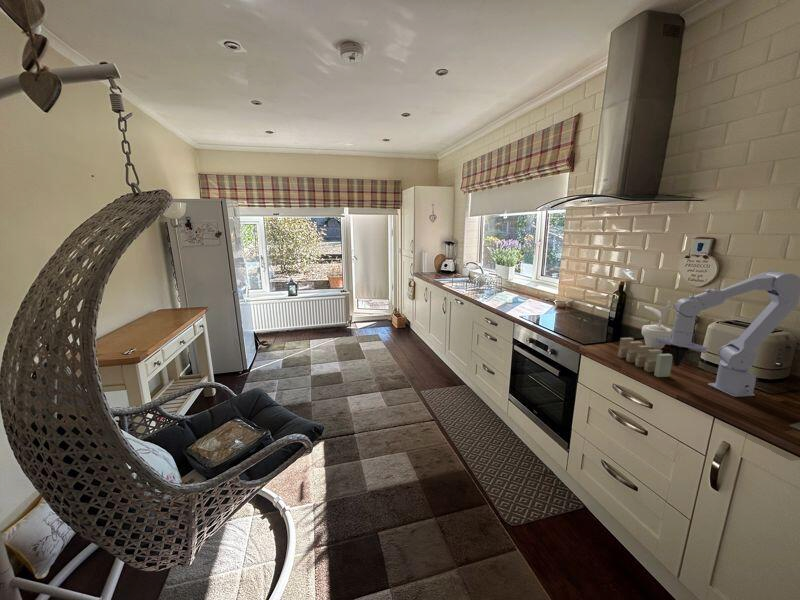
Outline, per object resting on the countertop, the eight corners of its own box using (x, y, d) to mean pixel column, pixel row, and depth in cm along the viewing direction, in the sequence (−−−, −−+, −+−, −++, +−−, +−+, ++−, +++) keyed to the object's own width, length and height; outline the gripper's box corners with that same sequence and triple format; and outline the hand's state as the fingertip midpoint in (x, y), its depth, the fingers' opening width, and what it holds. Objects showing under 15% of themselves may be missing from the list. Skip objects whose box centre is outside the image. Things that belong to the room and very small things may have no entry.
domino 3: (649, 366, 141) (652, 346, 139) (638, 367, 141) (641, 347, 139) (645, 364, 143) (648, 344, 141) (634, 365, 143) (637, 345, 141)
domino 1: (631, 357, 151) (633, 338, 149) (620, 358, 151) (623, 339, 149) (628, 355, 153) (630, 337, 151) (617, 356, 152) (620, 337, 151)
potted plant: (674, 349, 160) (683, 298, 154) (659, 353, 156) (667, 301, 150) (647, 341, 171) (654, 293, 166) (632, 344, 167) (638, 296, 162)
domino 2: (639, 361, 146) (642, 342, 144) (629, 362, 146) (631, 342, 144) (636, 360, 148) (639, 341, 146) (626, 360, 148) (628, 341, 146)
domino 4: (658, 371, 137) (662, 350, 135) (647, 371, 136) (650, 351, 134) (655, 369, 138) (658, 349, 136) (644, 370, 138) (647, 349, 136)
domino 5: (669, 376, 132) (673, 355, 130) (657, 377, 131) (661, 355, 129) (665, 374, 134) (669, 353, 132) (654, 375, 133) (657, 354, 131)
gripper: (711, 333, 119) (705, 368, 122) (662, 324, 131) (657, 356, 134) (706, 337, 115) (699, 373, 118) (656, 328, 127) (651, 361, 129)
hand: (676, 365), depth 126 cm, fingers closed
